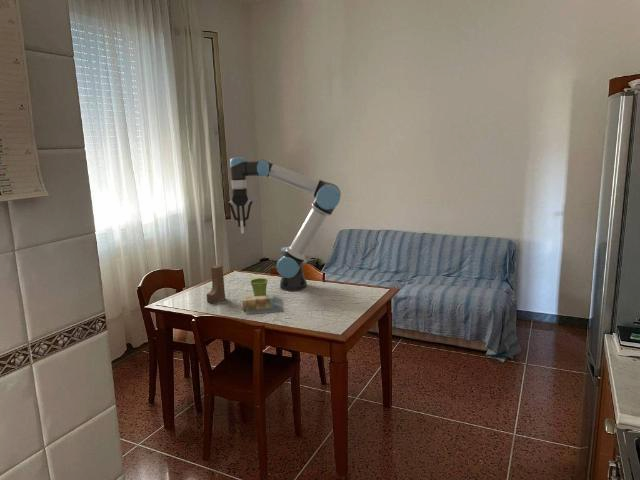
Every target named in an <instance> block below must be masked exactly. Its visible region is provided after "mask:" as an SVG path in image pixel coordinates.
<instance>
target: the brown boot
mask: <svg viewBox="0 0 640 480" xmlns="http://www.w3.org/2000/svg"><path fill="white" fill-rule="evenodd" d="M210 272H211V273H210V274H211V283H212V286H211V290H210V291H209V292H208V293H206V301H207V303H211V304H215V303H218V302H220V301H221V300H224V299H226V292H225V278H224V268H223V265H219V264H216V265H213V266H211V267H210Z"/></svg>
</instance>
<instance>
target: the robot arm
mask: <svg viewBox="0 0 640 480" xmlns="http://www.w3.org/2000/svg"><path fill="white" fill-rule="evenodd" d="M229 165H230V166H229V169H230V178H231V179H230V181H231V188H232V189H231V190H232V191H231V194H232V195H231V196H232V197H231V200H229V201H227V205H228V206H229V207H230V210H231V213H232V217H233V220H235V221H237V226H238V228H240V234H244V233H245V230H244V229H245V227H246V226H247V225H246V224H247V223H246V221H247V220H249V218H250V212H251V206H252V204H253V203H254V202H253V200H250V199H249V197H248V190H247V177H264V176H265V177H267V178H269V179H272V180H274V181H275V180H276V181H278V182H280V183H284V184H285V185H288V186H291V187H293V188H296V189H298V190H300V191H304V192H306V193H308V194H311V195H312V196H313V197H314V198H313V200H312V202H311V209H310V210H309V213H308V215H307V217H306V218H305V220H304V221H303V224H302V225H301V227H300V228H299V230H298V232H297V234H296V236H295V237H294V239H293V241H292V243H291V244H290V246H283V247H281V249H280V254H281V255H280V258H279V259H278V260H277V262H276V271H277V273H278V275H280V276H281V278H280V283H279V287H280V288H279V289H280V290H283V291H291V292H292V291H294V292H295V291H300V290H304V289H306V288H307V286H308V285H307V282H308V281H307V280H306V277H305V274H304V265H303V263H304V261H305V259H306V256H305V254H306V252H307V251H308V249H309V247H310V245H311V244H312V243H313V240H314V239H315V237H316V235H317V234H318V232H319V230H320V229H321V226H322V225H323V223H324V221H325V220H326V218H327V217H328V216H331V215H332V214H333V212H334V210H335V209H336V207H337V206H338V205H339V203H340V202H341V201H340V200H341V193H342V192H341V190H340V188H339V186H338V185H336V184H334V183H332V182H327V181H324V180H321V179H317V180H316V179H315V178H311V177H309V176H306V175H303V174H301V173H298V172H295V171H293V170H290V169H288V168H285V167H282V166H280V165H277V164H274V163H272V162H269V161H268V160H266V159H259V160H255V161H254V160H253V161H246V159H245V158H244V157H232V158H230V160H229ZM233 204H234V205H235V206H236V212H237V215H236V212H235V209H234V206H233ZM246 204H248V206H247V210H246V208H245V206H246ZM240 207H241V209H240ZM246 211H247V212H246ZM241 213H242V219H241Z"/></svg>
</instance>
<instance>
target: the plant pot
mask: <svg viewBox="0 0 640 480" xmlns="http://www.w3.org/2000/svg"><path fill="white" fill-rule="evenodd" d="M268 281H269V279H267V278H263V277H262V278H261V277H260V278H259V277H257V278H253V279H251V280H250V281H249V284H250V285H251V287H252V291H253V295H254V296H267V285H268ZM254 296H253V297H254Z"/></svg>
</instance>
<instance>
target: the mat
mask: <svg viewBox="0 0 640 480" xmlns="http://www.w3.org/2000/svg"><path fill="white" fill-rule="evenodd" d="M273 303H274V308H266V309H254V310H245V311H246V312H245V314H246V315H257V314H271V313H282V312H283V313H284V305H283V300H282V299H281V300H279V299H278V300H273Z"/></svg>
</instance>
